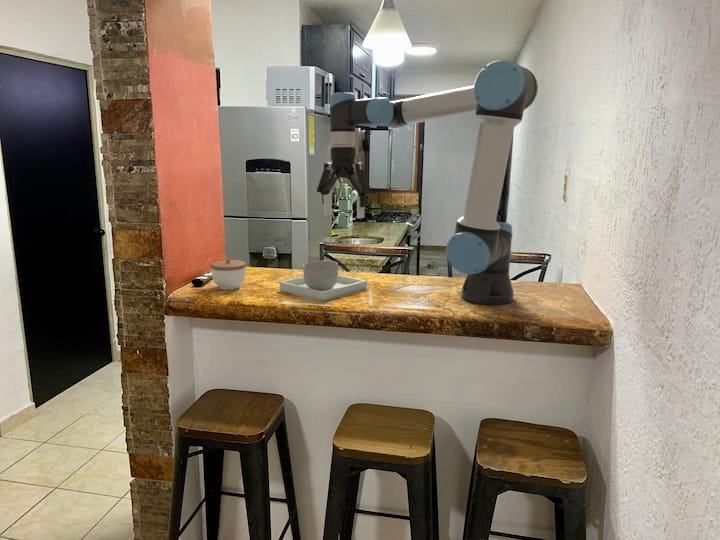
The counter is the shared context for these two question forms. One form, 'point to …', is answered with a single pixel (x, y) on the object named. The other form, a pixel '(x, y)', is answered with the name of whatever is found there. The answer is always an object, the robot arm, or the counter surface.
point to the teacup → (320, 274)
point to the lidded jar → (228, 273)
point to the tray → (339, 289)
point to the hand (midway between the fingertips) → (343, 216)
